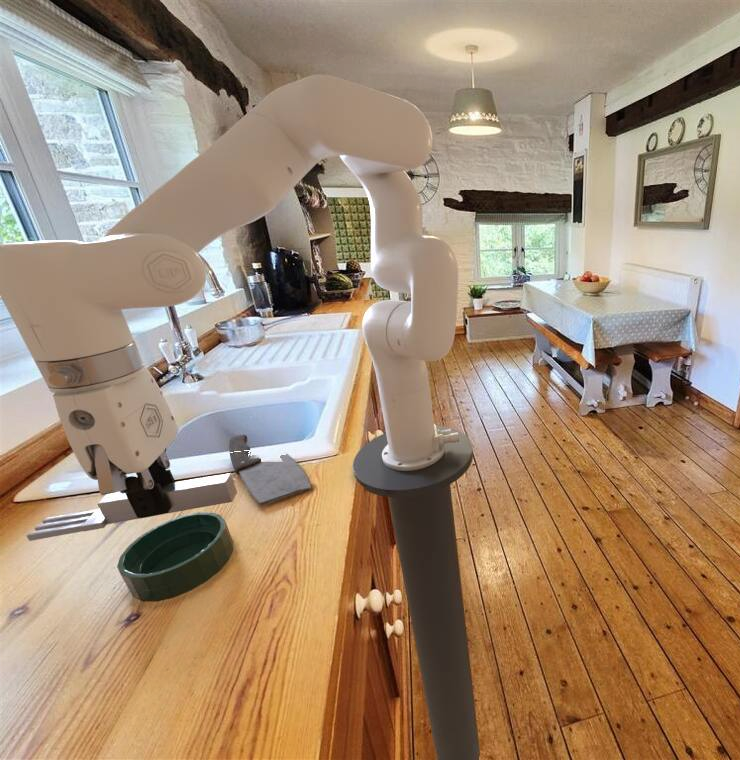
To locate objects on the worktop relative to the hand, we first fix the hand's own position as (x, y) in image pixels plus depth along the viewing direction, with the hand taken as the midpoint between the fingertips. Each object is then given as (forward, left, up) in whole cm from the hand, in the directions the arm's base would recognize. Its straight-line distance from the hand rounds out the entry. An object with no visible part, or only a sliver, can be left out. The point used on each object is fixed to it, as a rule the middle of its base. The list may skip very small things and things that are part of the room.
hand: (160, 506), depth 50 cm
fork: (+3, 0, -1) cm, 3 cm away
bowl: (+4, -6, -15) cm, 17 cm away
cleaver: (0, -31, -15) cm, 34 cm away
